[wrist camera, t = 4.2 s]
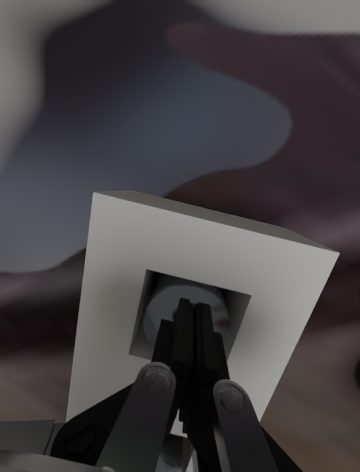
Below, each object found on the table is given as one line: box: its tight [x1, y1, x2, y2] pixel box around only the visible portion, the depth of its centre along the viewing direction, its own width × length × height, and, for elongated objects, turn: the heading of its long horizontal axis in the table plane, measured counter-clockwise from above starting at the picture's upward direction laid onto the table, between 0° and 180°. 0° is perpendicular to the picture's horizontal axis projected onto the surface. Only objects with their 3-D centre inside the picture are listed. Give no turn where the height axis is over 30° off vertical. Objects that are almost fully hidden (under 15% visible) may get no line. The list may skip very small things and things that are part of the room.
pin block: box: [66, 190, 340, 472], centre depth 15 cm, size 23×12×6 cm, turn 167°
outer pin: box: [143, 273, 230, 348], centre depth 13 cm, size 5×5×6 cm
